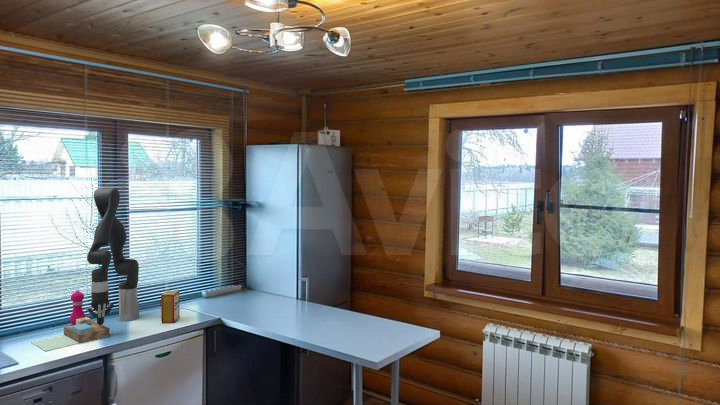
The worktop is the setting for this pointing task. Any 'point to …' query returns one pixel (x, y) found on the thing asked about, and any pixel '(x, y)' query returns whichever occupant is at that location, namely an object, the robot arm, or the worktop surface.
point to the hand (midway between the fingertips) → (100, 324)
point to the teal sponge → (82, 328)
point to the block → (83, 321)
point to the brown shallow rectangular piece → (88, 333)
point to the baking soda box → (170, 307)
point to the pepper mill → (77, 306)
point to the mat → (54, 343)
